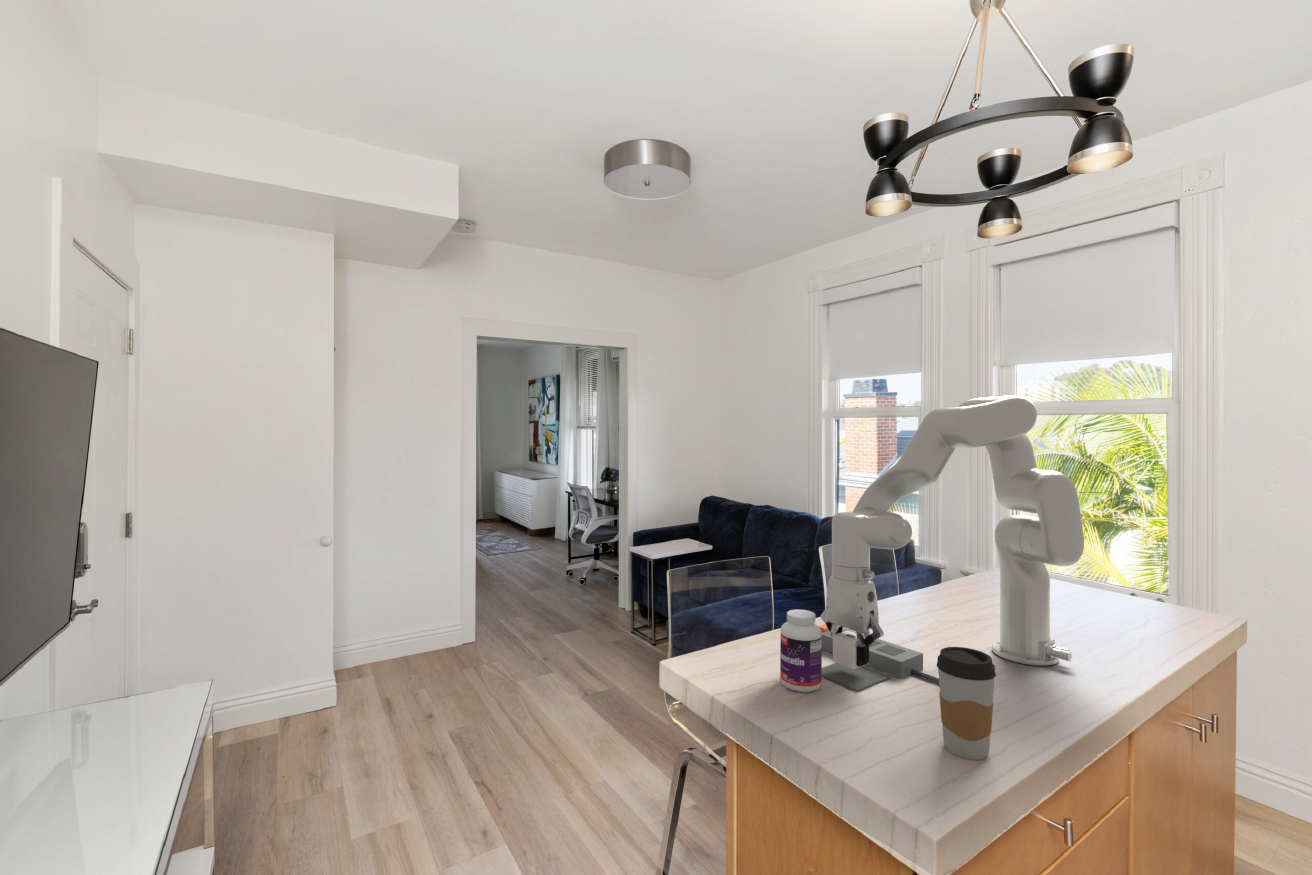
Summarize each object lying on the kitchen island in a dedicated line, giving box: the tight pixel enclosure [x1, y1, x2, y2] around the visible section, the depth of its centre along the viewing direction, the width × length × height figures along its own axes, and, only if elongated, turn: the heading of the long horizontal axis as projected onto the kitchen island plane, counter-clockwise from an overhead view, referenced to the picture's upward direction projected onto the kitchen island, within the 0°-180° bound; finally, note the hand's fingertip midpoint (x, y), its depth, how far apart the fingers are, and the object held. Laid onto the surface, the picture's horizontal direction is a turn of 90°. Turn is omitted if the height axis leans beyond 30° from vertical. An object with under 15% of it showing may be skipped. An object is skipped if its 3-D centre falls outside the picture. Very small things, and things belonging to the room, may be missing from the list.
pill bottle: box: [779, 609, 823, 693], centre depth 115 cm, size 8×8×14 cm
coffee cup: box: [936, 646, 997, 761], centre depth 91 cm, size 8×8×15 cm
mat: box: [822, 662, 892, 693], centre depth 119 cm, size 11×11×1 cm
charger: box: [832, 631, 865, 669], centre depth 119 cm, size 5×5×6 cm
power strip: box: [817, 623, 939, 684], centre depth 125 cm, size 36×8×4 cm, turn 35°
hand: (850, 659), depth 119 cm, fingers closed on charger, 4 cm apart
